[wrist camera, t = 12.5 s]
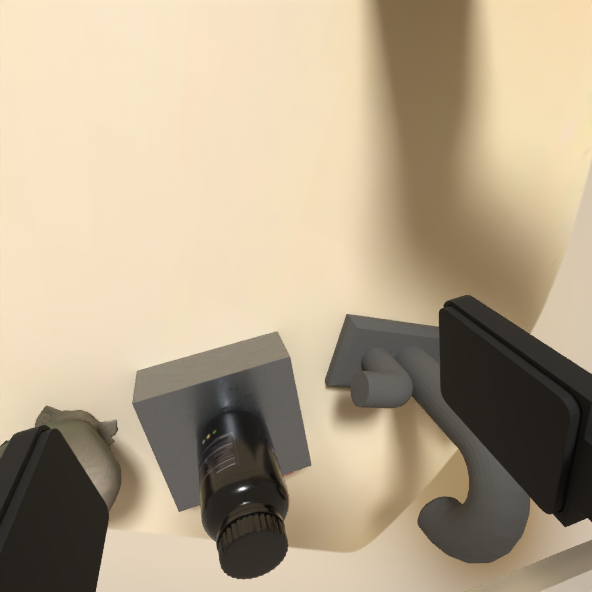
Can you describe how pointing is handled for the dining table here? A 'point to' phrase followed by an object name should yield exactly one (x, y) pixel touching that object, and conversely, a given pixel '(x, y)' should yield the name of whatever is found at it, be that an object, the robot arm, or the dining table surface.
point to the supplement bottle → (242, 494)
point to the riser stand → (219, 406)
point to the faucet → (426, 391)
